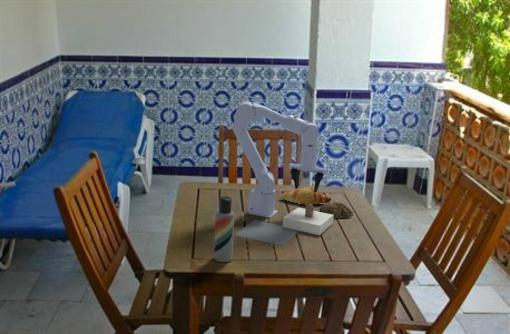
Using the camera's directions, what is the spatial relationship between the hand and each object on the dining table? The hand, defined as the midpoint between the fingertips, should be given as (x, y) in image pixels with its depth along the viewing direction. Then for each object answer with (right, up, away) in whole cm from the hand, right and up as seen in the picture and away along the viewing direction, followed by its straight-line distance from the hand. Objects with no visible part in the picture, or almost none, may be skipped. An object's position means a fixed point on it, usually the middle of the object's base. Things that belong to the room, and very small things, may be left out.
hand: (306, 189), depth 210 cm
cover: (0, -13, -8) cm, 15 cm away
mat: (-15, -14, -17) cm, 27 cm away
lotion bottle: (-29, -20, -39) cm, 53 cm away
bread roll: (+13, -10, +7) cm, 18 cm away
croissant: (+1, -6, +19) cm, 20 cm away
